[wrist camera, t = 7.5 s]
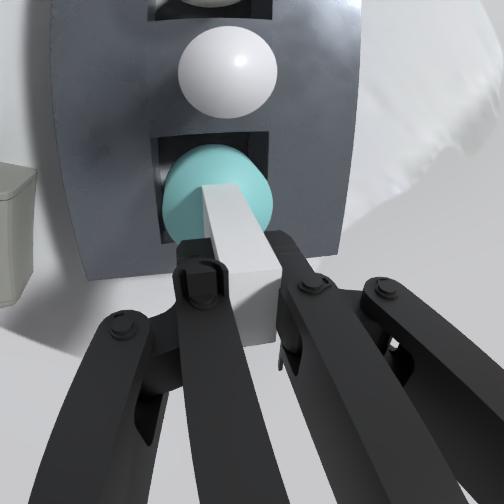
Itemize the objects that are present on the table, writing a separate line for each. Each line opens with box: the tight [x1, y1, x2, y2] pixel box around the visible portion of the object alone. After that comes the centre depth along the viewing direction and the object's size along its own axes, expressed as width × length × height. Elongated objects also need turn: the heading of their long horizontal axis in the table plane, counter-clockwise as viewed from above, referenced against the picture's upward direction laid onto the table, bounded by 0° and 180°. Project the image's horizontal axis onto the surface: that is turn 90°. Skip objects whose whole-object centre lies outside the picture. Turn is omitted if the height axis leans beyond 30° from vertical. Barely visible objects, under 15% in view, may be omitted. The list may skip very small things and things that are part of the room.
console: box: [50, 0, 361, 281], centre depth 15 cm, size 16×22×5 cm
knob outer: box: [162, 144, 273, 245], centre depth 17 cm, size 5×5×7 cm
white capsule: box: [178, 26, 277, 119], centre depth 11 cm, size 3×3×6 cm
